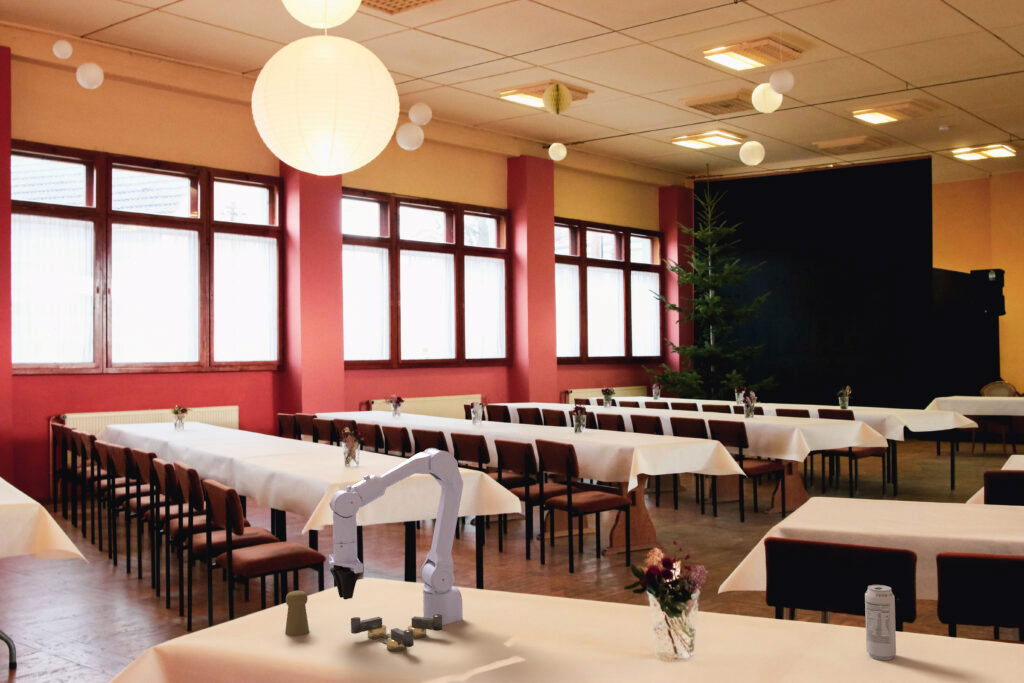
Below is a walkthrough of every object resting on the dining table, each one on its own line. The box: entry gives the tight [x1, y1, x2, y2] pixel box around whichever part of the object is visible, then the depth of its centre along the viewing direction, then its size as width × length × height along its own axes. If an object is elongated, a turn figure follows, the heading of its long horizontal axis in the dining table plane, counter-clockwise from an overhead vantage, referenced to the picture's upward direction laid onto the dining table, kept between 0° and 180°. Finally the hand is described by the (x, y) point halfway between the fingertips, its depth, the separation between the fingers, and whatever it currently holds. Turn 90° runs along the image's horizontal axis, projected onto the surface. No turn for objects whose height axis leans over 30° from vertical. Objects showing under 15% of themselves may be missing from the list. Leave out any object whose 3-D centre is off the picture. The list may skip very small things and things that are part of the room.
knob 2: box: [386, 627, 415, 652], centre depth 204 cm, size 9×4×5 cm, turn 37°
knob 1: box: [350, 616, 387, 639], centre depth 214 cm, size 9×4×5 cm, turn 127°
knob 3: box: [407, 614, 443, 639], centre depth 214 cm, size 9×4×5 cm, turn 67°
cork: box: [284, 590, 310, 637], centre depth 220 cm, size 6×6×11 cm
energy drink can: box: [864, 584, 897, 661], centre depth 198 cm, size 6×6×15 cm
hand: (346, 597), depth 217 cm, fingers closed
